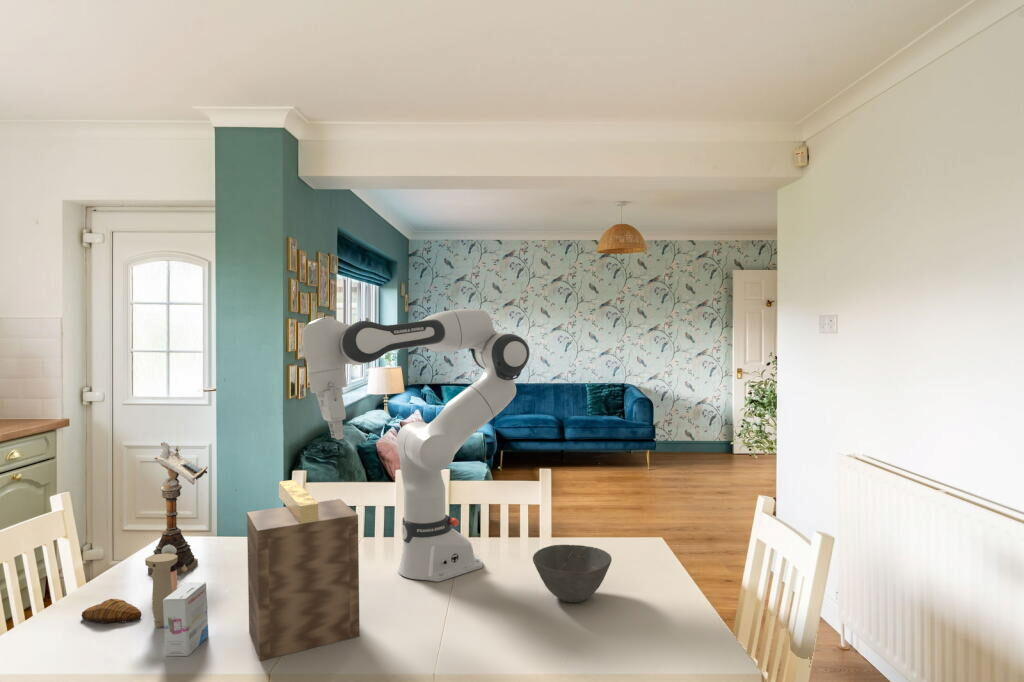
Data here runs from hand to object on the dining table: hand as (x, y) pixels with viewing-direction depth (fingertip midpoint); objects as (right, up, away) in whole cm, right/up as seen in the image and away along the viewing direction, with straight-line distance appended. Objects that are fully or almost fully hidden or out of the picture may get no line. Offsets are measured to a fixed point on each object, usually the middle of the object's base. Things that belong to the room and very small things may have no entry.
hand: (337, 438), depth 161 cm
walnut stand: (-1, -39, -22) cm, 44 cm away
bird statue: (-46, -38, +16) cm, 62 cm away
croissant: (-47, -39, -14) cm, 63 cm away
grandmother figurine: (-40, -38, -2) cm, 55 cm away
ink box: (-24, -39, -27) cm, 53 cm away
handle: (-34, -39, -17) cm, 54 cm away
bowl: (+58, -38, -4) cm, 69 cm away
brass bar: (-4, -12, -19) cm, 23 cm away
